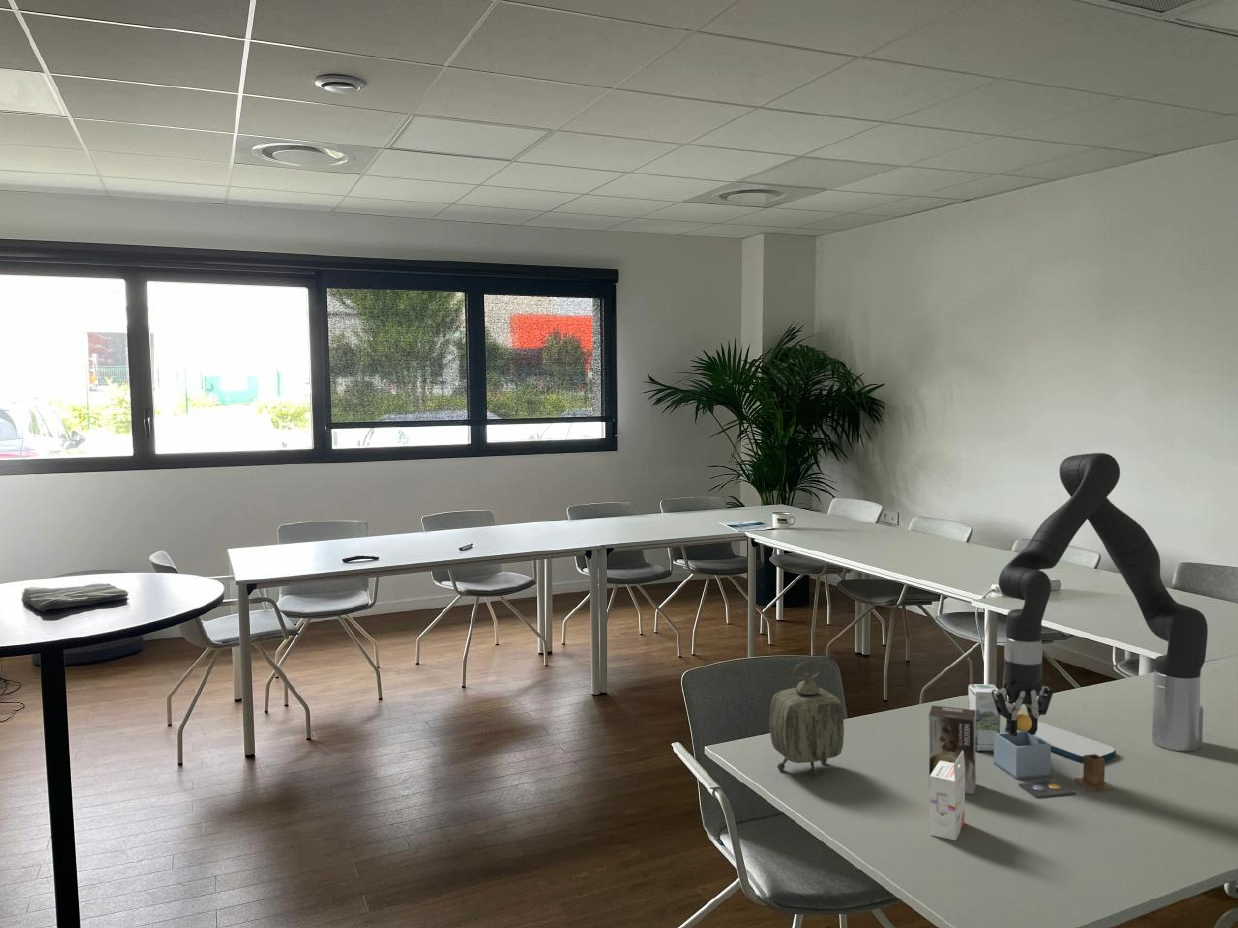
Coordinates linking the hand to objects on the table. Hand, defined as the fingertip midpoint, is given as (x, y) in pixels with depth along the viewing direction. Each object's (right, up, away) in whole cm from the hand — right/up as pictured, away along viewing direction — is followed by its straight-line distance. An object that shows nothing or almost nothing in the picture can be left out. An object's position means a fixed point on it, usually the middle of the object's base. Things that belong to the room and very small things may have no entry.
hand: (1021, 733), depth 195 cm
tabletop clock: (-47, -9, +2) cm, 48 cm away
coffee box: (-18, -9, -7) cm, 21 cm away
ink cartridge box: (-26, -11, -25) cm, 38 cm away
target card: (+1, -9, -9) cm, 13 cm away
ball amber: (0, +3, 0) cm, 3 cm away
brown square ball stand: (+12, -8, -8) cm, 16 cm away
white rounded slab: (+15, -7, +14) cm, 22 cm away
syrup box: (-3, -7, +13) cm, 15 cm away
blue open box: (0, -8, +1) cm, 8 cm away
